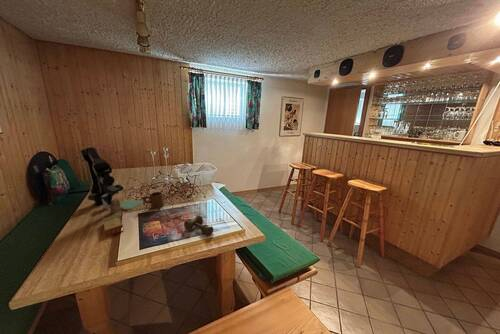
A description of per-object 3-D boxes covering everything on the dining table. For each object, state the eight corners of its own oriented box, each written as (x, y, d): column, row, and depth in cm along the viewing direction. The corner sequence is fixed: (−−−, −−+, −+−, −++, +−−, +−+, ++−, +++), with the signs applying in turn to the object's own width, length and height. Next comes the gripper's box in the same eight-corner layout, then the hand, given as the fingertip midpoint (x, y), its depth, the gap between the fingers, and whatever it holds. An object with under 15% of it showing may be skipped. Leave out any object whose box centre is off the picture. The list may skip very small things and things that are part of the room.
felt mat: (115, 206, 135) (114, 206, 134) (129, 199, 146) (129, 199, 146) (130, 209, 131) (130, 208, 131) (144, 201, 142) (144, 201, 142)
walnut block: (111, 212, 127) (108, 201, 125) (116, 209, 130) (114, 198, 128) (115, 213, 126) (113, 202, 124) (121, 210, 129) (118, 199, 127)
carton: (105, 237, 102) (104, 230, 101) (103, 224, 114) (102, 218, 113) (124, 231, 107) (122, 224, 106) (120, 219, 119) (119, 213, 118)
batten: (113, 208, 132) (112, 206, 132) (114, 207, 133) (114, 206, 133) (126, 210, 129) (126, 209, 129) (128, 209, 130) (127, 208, 130)
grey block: (104, 208, 132) (101, 197, 130) (109, 205, 136) (107, 195, 134) (108, 209, 131) (106, 198, 129) (113, 206, 135) (111, 196, 133)
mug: (145, 211, 127) (143, 198, 125) (143, 207, 134) (141, 194, 131) (164, 207, 134) (162, 194, 131) (162, 203, 140) (160, 191, 137)
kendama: (203, 241, 99) (180, 227, 110) (217, 232, 107) (193, 220, 118) (203, 230, 97) (179, 217, 109) (217, 222, 105) (193, 211, 116)
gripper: (98, 188, 108) (104, 213, 112) (127, 178, 125) (131, 200, 130) (84, 186, 111) (90, 210, 115) (114, 176, 128) (119, 198, 133)
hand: (109, 204), depth 123 cm, fingers closed
